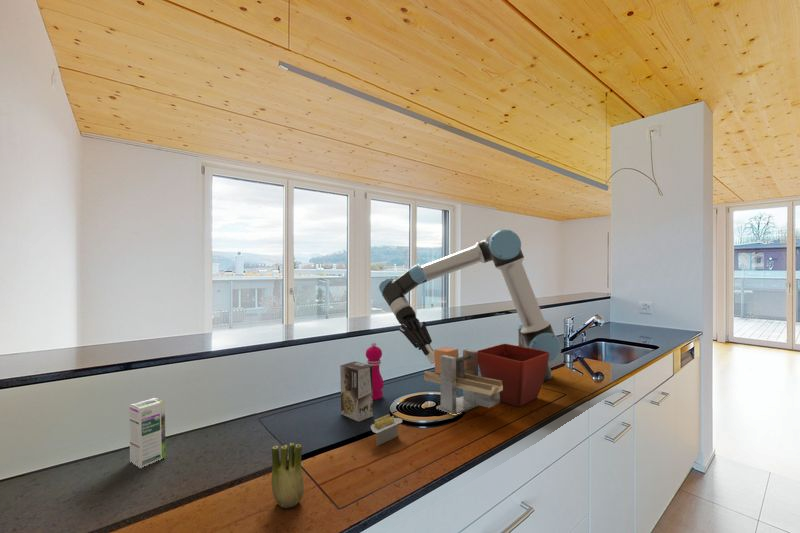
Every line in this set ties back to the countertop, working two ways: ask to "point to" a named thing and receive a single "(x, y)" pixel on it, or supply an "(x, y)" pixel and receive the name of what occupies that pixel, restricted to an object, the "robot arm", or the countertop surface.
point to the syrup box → (147, 432)
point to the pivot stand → (449, 383)
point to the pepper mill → (375, 370)
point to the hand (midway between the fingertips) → (434, 361)
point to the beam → (473, 384)
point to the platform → (385, 429)
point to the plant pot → (515, 371)
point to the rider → (443, 351)
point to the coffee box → (356, 391)
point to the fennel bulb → (287, 476)
